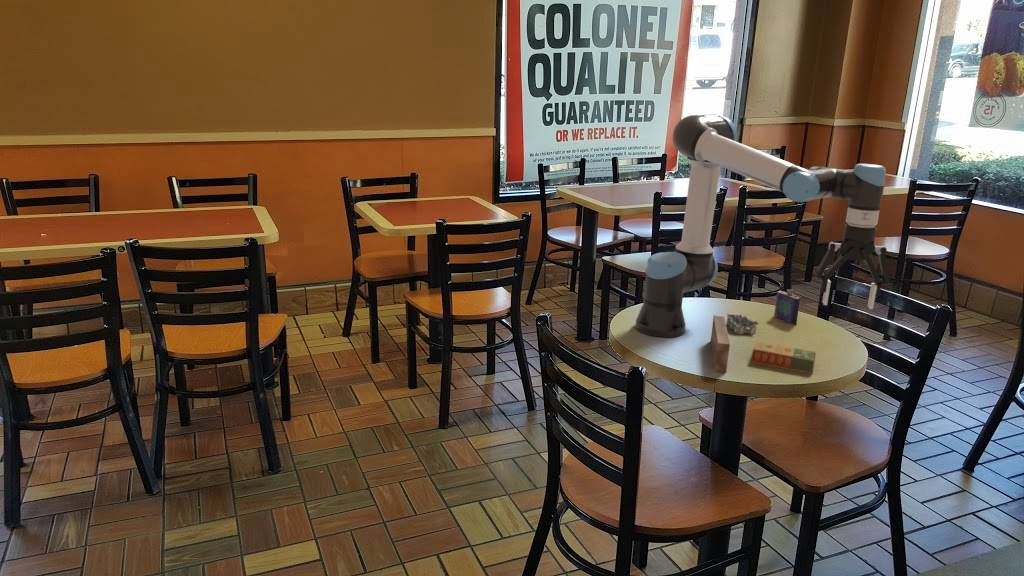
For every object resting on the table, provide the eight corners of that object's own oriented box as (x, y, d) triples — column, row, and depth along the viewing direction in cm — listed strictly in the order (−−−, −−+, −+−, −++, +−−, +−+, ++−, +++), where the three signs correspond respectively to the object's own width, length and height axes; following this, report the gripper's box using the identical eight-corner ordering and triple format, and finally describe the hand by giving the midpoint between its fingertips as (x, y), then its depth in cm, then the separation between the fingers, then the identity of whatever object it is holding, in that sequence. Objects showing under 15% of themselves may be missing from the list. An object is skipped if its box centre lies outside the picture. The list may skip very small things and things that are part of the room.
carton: (754, 354, 211) (756, 340, 210) (814, 365, 205) (816, 350, 204) (750, 363, 204) (752, 348, 203) (812, 375, 198) (814, 360, 196)
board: (714, 371, 197) (718, 343, 194) (710, 341, 219) (713, 315, 217) (726, 372, 196) (729, 344, 194) (720, 342, 219) (724, 316, 216)
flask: (771, 316, 244) (776, 285, 241) (778, 315, 245) (783, 285, 242) (792, 325, 236) (797, 293, 233) (799, 324, 237) (804, 293, 234)
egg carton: (757, 335, 226) (759, 323, 225) (733, 334, 226) (735, 322, 225) (747, 324, 237) (749, 312, 235) (724, 323, 237) (725, 311, 235)
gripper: (816, 224, 189) (803, 305, 195) (913, 231, 185) (898, 314, 191) (811, 218, 196) (799, 297, 202) (905, 225, 192) (890, 305, 198)
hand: (847, 305), depth 197 cm, fingers open, 11 cm apart
